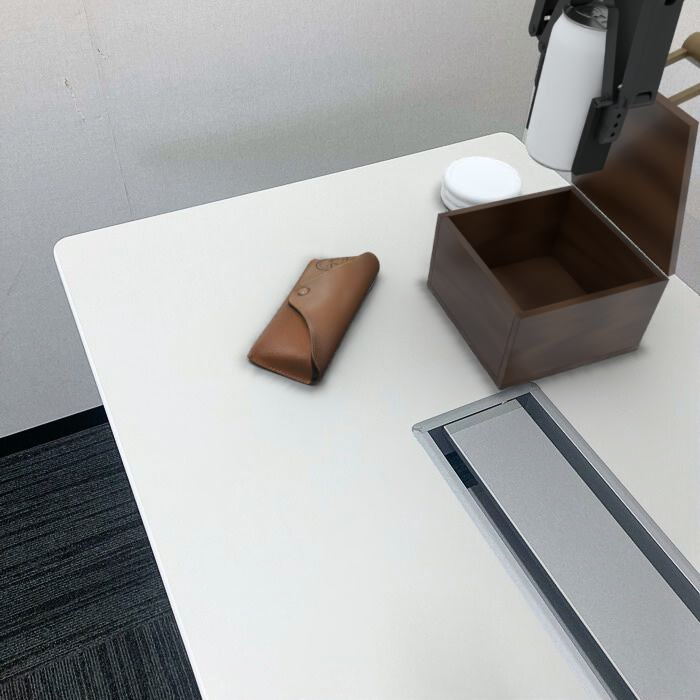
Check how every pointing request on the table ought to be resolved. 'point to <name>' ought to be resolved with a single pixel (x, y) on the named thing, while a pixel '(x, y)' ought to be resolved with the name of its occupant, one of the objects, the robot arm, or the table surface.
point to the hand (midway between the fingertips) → (563, 147)
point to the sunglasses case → (315, 317)
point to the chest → (541, 284)
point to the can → (568, 85)
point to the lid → (650, 171)
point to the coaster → (478, 182)
